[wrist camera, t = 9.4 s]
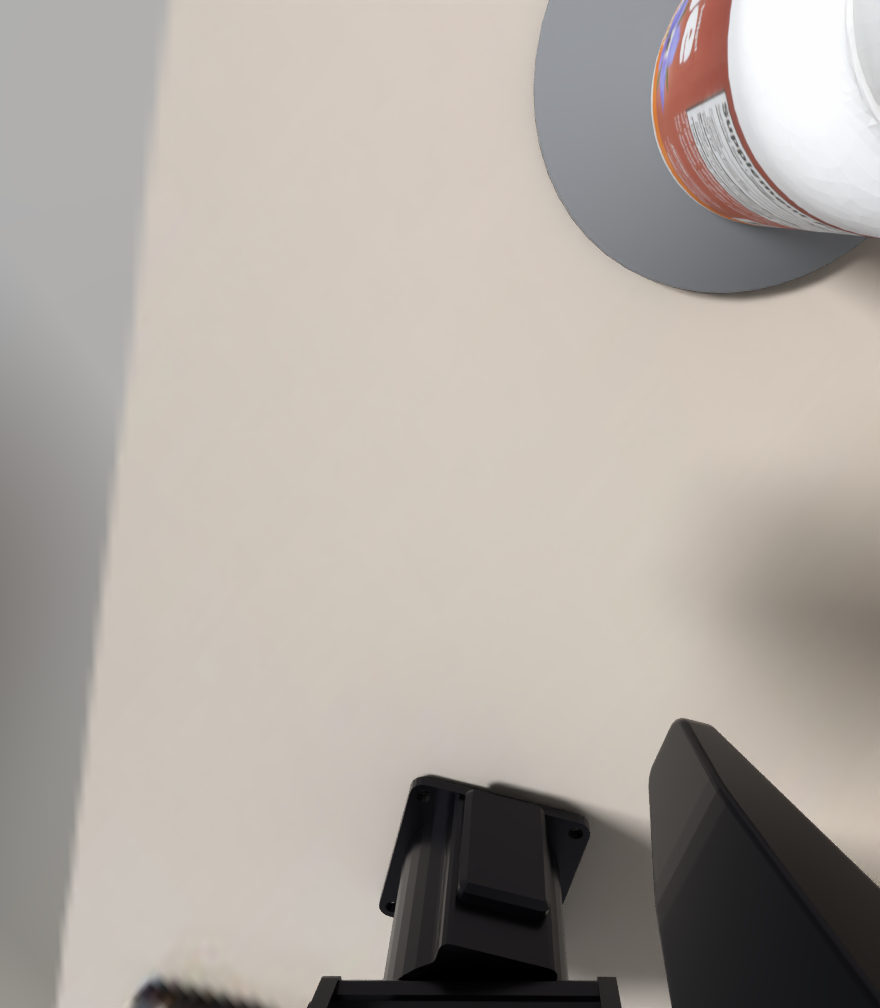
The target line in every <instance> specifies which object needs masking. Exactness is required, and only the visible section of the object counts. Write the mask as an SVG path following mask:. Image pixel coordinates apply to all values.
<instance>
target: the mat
mask: <svg viewBox="0 0 880 1008" xmlns="http://www.w3.org/2000/svg"><path fill="white" fill-rule="evenodd" d="M681 1H682V0H549V2H548V6H547V9H546V12H545V16H544V19H543V22H542V27H541V33H540V38H539V44H538V49H537V55H536V62H535V77H534V107H535V122H536V127H537V133H538V139H539V145H540V149H541V152H542V156H543V159H544V162H545V166H546V169H547V172H548V175H549V177H550V179H551V181H552V184H553V186H554V188H555V190H556V193H557V195H558V197H559V199H560V200H561V202H562V204H563V205H564V207H565V208H566V210H567V212H568V213H569V215H570V216H571V218H572V219H573V221H574V222H575V223H576V224H577V225H578V227H579V228H580V229H581V230H582V231H583V233H584V234H585V235H586V236H587V238H588V239H589V240H591V241H592V242H593V243H594V244H595V245H596V246H597V247H598V248H599V249H600V250H602V251H603V252H604V253H605V254H606V255H607V256H609V257H610V258H612V259H613V260H615V261H616V262H618V263H619V264H621V265H622V266H624V267H625V268H627V269H629V270H631V271H633V272H635V273H637V274H639V275H641V276H643V277H645V278H647V279H650V280H653V281H656V282H659V283H662V284H665V285H669V286H672V287H675V288H680V289H685V290H691V291H697V292H710V293H733V292H743V291H753V290H757V289H762V288H766V287H771V286H775V285H779V284H782V283H785V282H788V281H791V280H793V279H796V278H799V277H802V276H805V275H807V274H809V273H811V272H813V271H815V270H817V269H819V268H821V267H823V266H825V265H827V264H829V263H831V262H833V261H834V260H836V259H837V258H839V257H840V256H842V255H843V254H845V253H847V252H848V251H850V250H851V249H853V248H854V247H856V246H857V245H858V244H859V243H861V242H862V241H863V240H864V239H866V238H867V237H865V236H856V235H848V234H837V233H828V232H815V231H807V230H798V229H787V228H776V227H765V226H755V225H750V224H744V223H740V222H736V221H732V220H729V219H726V218H723V217H721V216H719V215H717V214H715V213H713V212H711V211H709V210H707V209H706V208H704V207H703V206H701V205H699V204H698V203H697V202H696V201H694V200H693V199H692V198H691V197H690V196H689V195H688V194H687V193H686V192H685V191H684V190H683V189H682V188H681V187H680V186H679V185H678V183H677V182H676V181H675V179H674V178H673V176H672V175H671V173H670V172H669V170H668V168H667V166H666V164H665V163H664V161H663V158H662V156H661V153H660V151H659V148H658V145H657V142H656V138H655V134H654V128H653V122H652V114H651V90H652V80H653V73H654V69H655V64H656V59H657V56H658V53H659V50H660V46H661V43H662V40H663V38H664V35H665V33H666V31H667V28H668V26H669V24H670V21H671V19H672V17H673V15H674V13H675V11H676V9H677V7H678V6H679V4H680V2H681Z"/></svg>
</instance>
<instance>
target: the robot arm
mask: <svg viewBox="0 0 880 1008" xmlns="http://www.w3.org/2000/svg"><path fill="white" fill-rule="evenodd" d="M421 790H425V791H427V792H429V793H427V794H423V793H421V792H419V791H421ZM649 804H650V822H651V840H652V858H653V876H654V892H655V904H656V912H657V920H658V927H659V933H660V939H661V945H662V951H663V957H664V963H665V969H666V975H667V981H668V987H669V993H670V999H671V1005H672V1008H880V888H879V887H878V886H877V885H876V884H875V883H874V882H873V881H872V880H871V879H870V878H869V877H868V876H867V875H866V874H865V873H864V872H863V871H862V870H861V869H860V868H859V867H858V866H856V865H855V864H854V863H853V862H852V861H851V860H850V859H849V858H848V857H847V856H846V855H845V854H844V853H843V852H842V851H841V850H840V849H839V848H838V847H837V846H836V845H835V844H834V843H833V842H832V841H831V840H830V839H829V838H828V837H827V836H826V835H824V834H823V833H822V832H821V831H820V830H819V829H818V828H817V827H816V826H815V825H814V824H813V823H812V822H811V821H810V820H809V819H808V818H807V817H806V816H805V815H804V814H803V813H802V812H801V811H800V810H799V809H798V808H797V807H796V806H795V805H793V804H792V803H791V802H790V801H789V800H788V799H787V798H786V797H785V796H784V795H783V794H782V793H781V792H780V791H779V790H778V789H777V788H776V787H775V786H774V785H773V784H772V783H771V782H770V781H769V780H768V779H767V778H766V777H765V776H764V775H762V774H761V773H760V772H759V771H758V770H757V769H756V768H755V767H754V766H753V765H752V764H751V763H750V762H749V761H748V760H747V759H746V758H745V757H744V756H743V755H742V754H741V753H740V752H739V751H738V750H737V749H736V748H735V747H734V746H733V745H731V744H730V743H729V742H728V741H727V740H726V739H725V738H724V737H723V736H722V735H721V734H720V733H719V732H718V731H717V730H716V729H715V728H714V727H713V726H711V725H709V724H706V723H702V722H697V721H693V720H689V719H685V718H680V719H677V720H675V722H674V723H673V724H672V725H671V727H670V729H669V731H668V733H667V735H666V738H665V740H664V742H663V744H662V746H661V748H660V750H659V753H658V755H657V757H656V759H655V761H654V763H653V766H652V768H651V772H650V776H649ZM573 828H578V829H579V830H577V831H573V830H571V829H573ZM589 837H590V828H589V823H588V821H587V819H586V818H585V817H584V816H581V815H579V814H575V813H571V812H567V811H563V810H559V809H555V808H551V807H547V806H543V805H539V804H534V803H530V802H526V801H522V800H518V799H514V798H510V797H506V796H502V795H498V794H494V793H490V792H486V791H482V790H478V789H474V788H470V787H466V786H462V785H458V784H454V783H450V782H445V781H441V780H437V779H433V778H429V777H419V778H416V779H415V780H413V782H412V784H411V787H410V790H409V794H408V798H407V801H406V805H405V809H404V812H403V816H402V820H401V823H400V827H399V831H398V834H397V838H396V842H395V846H394V849H393V853H392V857H391V860H390V864H389V868H388V871H387V875H386V879H385V882H384V886H383V890H382V893H381V898H380V903H379V908H380V910H381V912H382V913H384V914H385V915H387V916H390V917H394V919H393V925H392V931H391V937H390V943H389V949H388V955H387V961H386V967H385V973H384V979H383V980H342V979H341V976H323V977H322V978H321V980H320V983H319V985H318V987H317V990H316V992H315V994H314V997H313V999H312V1001H311V1002H310V1003H309V1004H308V1007H307V1008H622V1007H621V1002H620V997H619V991H618V986H617V980H616V977H597V981H569V980H568V970H567V957H566V945H565V933H564V920H563V908H562V905H563V902H564V900H565V897H566V895H567V892H568V890H569V887H570V885H571V882H572V880H573V877H574V875H575V872H576V870H577V867H578V865H579V862H580V860H581V857H582V855H583V852H584V850H585V847H586V845H587V842H588V840H589ZM391 902H394V903H391Z"/></svg>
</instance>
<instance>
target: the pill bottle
mask: <svg viewBox="0 0 880 1008" xmlns="http://www.w3.org/2000/svg"><path fill="white" fill-rule="evenodd" d="M651 114H652V122H653V128H654V134H655V138H656V142H657V145H658V148H659V151H660V153H661V156H662V158H663V161H664V163H665V164H666V166H667V168H668V170H669V172H670V173H671V175H672V176H673V178H674V179H675V181H676V182H677V183H678V185H679V186H680V187H681V188H682V189H683V190H684V191H685V192H686V193H687V194H688V195H689V196H690V197H691V198H692V199H693V200H694V201H696V202H697V203H698V204H699V205H701V206H703V207H704V208H706V209H707V210H709V211H711V212H713V213H715V214H717V215H719V216H721V217H723V218H726V219H729V220H732V221H736V222H740V223H744V224H750V225H755V226H765V227H776V228H787V229H798V230H807V231H815V232H828V233H837V234H848V235H856V236H865V237H873V238H880V0H682V1H681V2H680V4H679V6H678V7H677V9H676V11H675V13H674V15H673V17H672V19H671V21H670V24H669V26H668V28H667V31H666V33H665V35H664V38H663V40H662V43H661V46H660V50H659V53H658V56H657V59H656V64H655V69H654V73H653V80H652V90H651Z"/></svg>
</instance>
